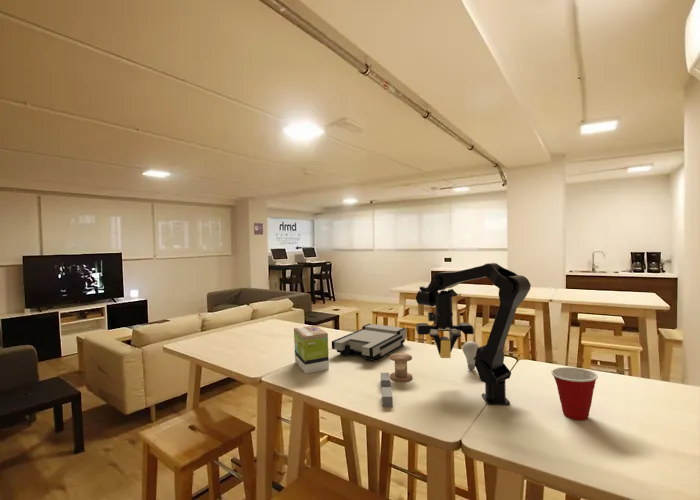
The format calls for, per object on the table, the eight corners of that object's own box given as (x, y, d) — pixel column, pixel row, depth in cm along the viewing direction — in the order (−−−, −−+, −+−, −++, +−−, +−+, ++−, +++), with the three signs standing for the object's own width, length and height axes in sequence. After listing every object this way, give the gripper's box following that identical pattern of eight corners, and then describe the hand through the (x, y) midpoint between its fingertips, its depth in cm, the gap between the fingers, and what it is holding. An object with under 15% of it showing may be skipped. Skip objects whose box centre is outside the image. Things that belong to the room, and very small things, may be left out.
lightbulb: (477, 367, 132) (477, 339, 132) (482, 373, 126) (481, 343, 126) (461, 367, 133) (460, 338, 132) (465, 373, 127) (464, 343, 126)
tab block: (450, 357, 117) (450, 339, 117) (441, 358, 117) (440, 339, 117) (447, 354, 121) (447, 336, 121) (438, 354, 121) (438, 336, 121)
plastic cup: (554, 402, 102) (554, 362, 102) (599, 413, 95) (599, 370, 95) (548, 417, 93) (547, 373, 93) (596, 430, 87) (596, 383, 86)
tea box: (294, 362, 143) (293, 327, 143) (316, 358, 147) (316, 324, 147) (305, 374, 129) (303, 335, 129) (329, 369, 133) (328, 332, 133)
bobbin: (413, 381, 120) (413, 360, 120) (390, 381, 120) (390, 360, 120) (411, 373, 128) (410, 352, 128) (389, 373, 128) (389, 353, 128)
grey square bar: (392, 406, 102) (392, 396, 102) (382, 406, 102) (382, 396, 102) (389, 381, 121) (389, 372, 121) (380, 381, 121) (380, 372, 121)
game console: (332, 357, 149) (331, 338, 149) (369, 339, 176) (369, 323, 176) (373, 365, 138) (372, 345, 137) (406, 345, 164) (406, 328, 164)
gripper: (464, 303, 126) (465, 346, 126) (413, 304, 127) (414, 346, 128) (473, 309, 115) (474, 355, 115) (417, 310, 116) (418, 356, 117)
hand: (444, 353), depth 119 cm, fingers closed on tab block, 3 cm apart
